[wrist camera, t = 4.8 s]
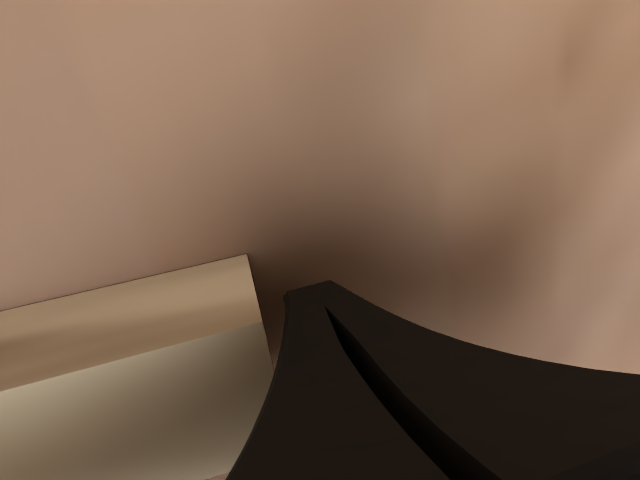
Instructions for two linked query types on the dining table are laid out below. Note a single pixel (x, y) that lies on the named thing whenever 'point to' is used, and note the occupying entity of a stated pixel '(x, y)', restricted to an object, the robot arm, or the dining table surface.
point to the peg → (134, 378)
